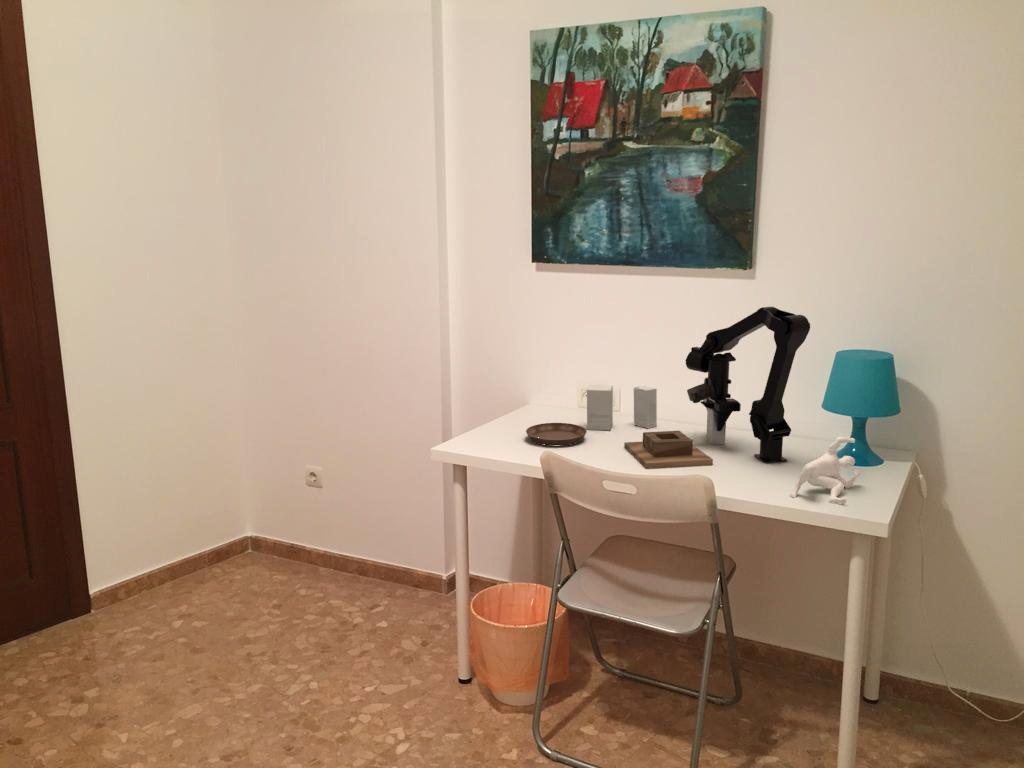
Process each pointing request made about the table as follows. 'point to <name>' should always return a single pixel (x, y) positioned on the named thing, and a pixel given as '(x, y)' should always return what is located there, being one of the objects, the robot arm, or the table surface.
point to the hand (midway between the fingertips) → (716, 429)
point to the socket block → (667, 450)
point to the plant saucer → (556, 433)
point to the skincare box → (645, 406)
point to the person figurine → (828, 471)
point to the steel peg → (714, 429)
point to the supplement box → (599, 407)
